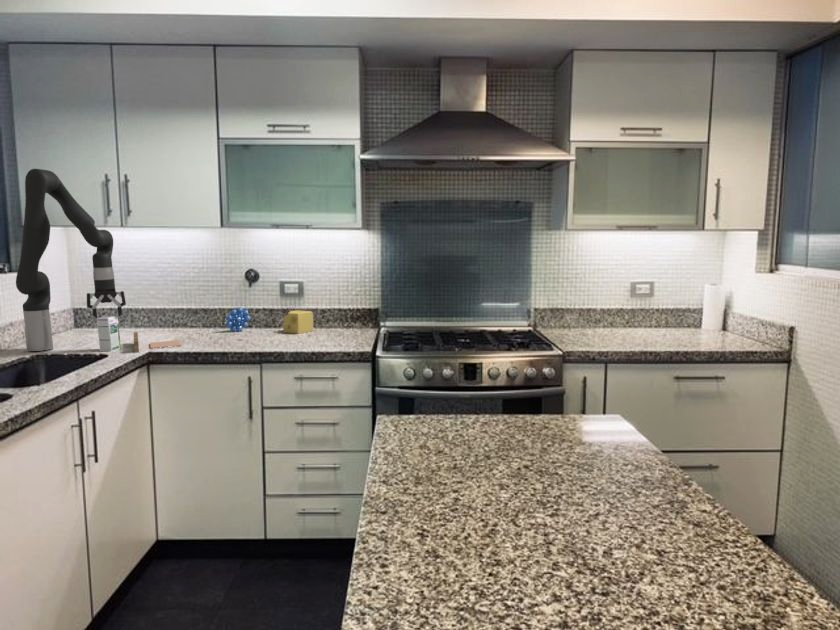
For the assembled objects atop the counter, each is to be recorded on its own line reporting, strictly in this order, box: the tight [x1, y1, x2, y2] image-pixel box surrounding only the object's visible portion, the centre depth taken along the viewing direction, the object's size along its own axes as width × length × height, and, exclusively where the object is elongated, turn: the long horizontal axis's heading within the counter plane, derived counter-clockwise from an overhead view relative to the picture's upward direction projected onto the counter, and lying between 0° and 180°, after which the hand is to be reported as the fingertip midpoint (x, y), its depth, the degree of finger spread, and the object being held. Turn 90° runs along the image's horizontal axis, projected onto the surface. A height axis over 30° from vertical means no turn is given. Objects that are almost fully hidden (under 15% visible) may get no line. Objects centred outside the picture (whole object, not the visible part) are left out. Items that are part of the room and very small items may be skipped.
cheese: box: [283, 309, 314, 335], centre depth 287 cm, size 10×11×10 cm
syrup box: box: [96, 315, 122, 352], centre depth 246 cm, size 6×6×14 cm
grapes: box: [225, 307, 251, 332], centre depth 289 cm, size 12×7×12 cm, turn 114°
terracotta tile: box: [149, 340, 182, 350], centre depth 256 cm, size 12×12×1 cm
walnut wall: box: [133, 331, 140, 353], centre depth 251 cm, size 22×2×5 cm, turn 26°
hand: (107, 316), depth 245 cm, fingers open, 8 cm apart
